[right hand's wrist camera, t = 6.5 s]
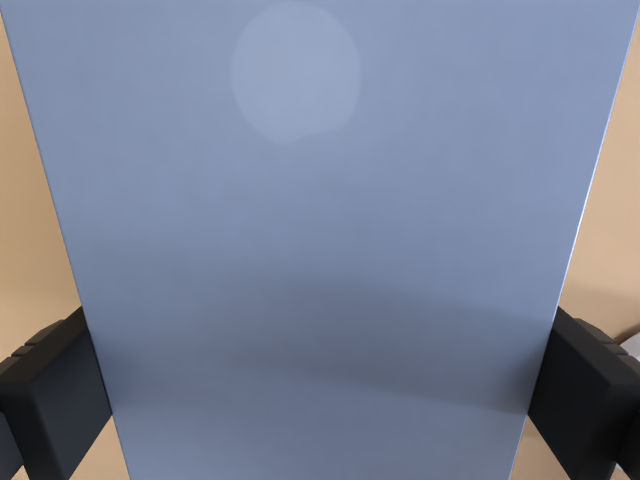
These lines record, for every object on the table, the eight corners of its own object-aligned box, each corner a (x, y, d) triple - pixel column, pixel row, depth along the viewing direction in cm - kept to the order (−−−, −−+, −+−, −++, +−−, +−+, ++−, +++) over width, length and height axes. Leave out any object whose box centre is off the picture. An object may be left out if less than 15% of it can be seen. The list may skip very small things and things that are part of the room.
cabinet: (148, -206, 11) (-279, -974, 3) (492, -206, 11) (921, -981, 3) (215, 327, 18) (133, 499, 10) (424, 327, 18) (505, 499, 10)
